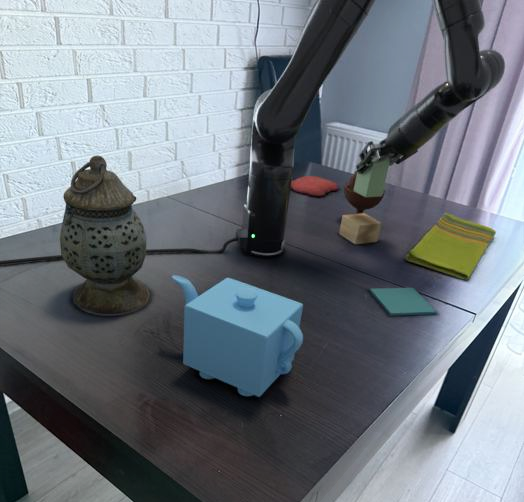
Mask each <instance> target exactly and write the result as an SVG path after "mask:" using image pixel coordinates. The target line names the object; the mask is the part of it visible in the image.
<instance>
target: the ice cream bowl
mask: <svg viewBox="0 0 524 502" xmlns="http://www.w3.org/2000/svg"><path fill="white" fill-rule="evenodd" d="M356 176H357V170H356V171H354V174H353V175H352V176H351V177H350V179H349V181H348V182H347V183H345V184H344V185H343V195H344V198H345V199H346V201H347V203H348V204H349V205H351V206H352V207H353V208H354V209H356V212H355V214H361V213H364V212H365V210H371V209H373V208H375V207H376V206H378V205H379V204H380V203H381V202H382V200H383V198H384V196H385V194H386V190H385V189H384V190H383V194H382V196H379V197H364V196H362V195H360V194H359V193H357V192H355V191H354V186H355V181H356Z"/></svg>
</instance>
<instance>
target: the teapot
mask: <svg viewBox="0 0 524 502" xmlns="http://www.w3.org/2000/svg"><path fill="white" fill-rule="evenodd" d="M171 277H172V279H173V280H174V281H175V282H176V283H177V285H178V286H179V287H180V289H181V290H182V294H183V296H184V300H185V305H184V306H183V308H184V309H183V310H184V311H183V352H182V353H183V355H182V357H183V358H182V365H185V366H186V367H187V366H188V367H189V368H192V369H193V370H196V371H199V373H198V374H199V376H200V377H201V378H202V379H204V380H213V379H217V380H219V381H221V382H223V383H226V384H227V385H230V386H233V387H235V388H237V393H238V394H239V395H241V396H244V397H252V396H255V397H258V398H260V397H261V396H263V394H264V393H265V392H266V391H267V390H268V388H270V386H271V385H273V383H274V382H275V381H276V380H277V379H278V378H279V376H280V375H287V374H288V373H290V372H291V370H292V367H293V364H292V362H293V361H294V360H295V355H296V352H297V351H299V349H300V348H301V347H302V344H303V342H304V335H303V332H302V330H301V328H300V326H301V321H302V320H301V319H302V315H303V308H304V304H303V303H301V302H299V301H297V300H293V299H290V298H288V297H285V296H282V295H279V294H276V293H274V292H272V291H271V292H270V291H268V290H265V289H262V288H259V287H258V286H257V287H256V286H254V285H251V284H249V283H245V282H242V281H240V280H237V279H234V278H231V277H226V278H224V279H223V280H221V281H220V282H218V283H217V284H215V285H214V286H212V287H211V288H209V289H208V290H206V291H204V292H203V293H201V294H200V295H198V294H199V293H198V292H197V290H196V288H195V286H194V285H193V284H192V282H191V281H190V280H189V279H187V278H185V277H184V276H181V275H178V274H176V275H175V274H174V275H172V276H171Z"/></svg>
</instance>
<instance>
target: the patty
mask: <svg viewBox="0 0 524 502" xmlns="http://www.w3.org/2000/svg"><path fill="white" fill-rule="evenodd" d="M339 188H340V187H339V184H337V183H336V182H334V181H333V180H329V179H325V178H323V177H319V176H317V175H305V176H301V177H298V178H296V179H294V180H292V183H291V190H293V191H294V192H296V193H298V194H301V195H306V196H307V195H308V196H311V197H315V198H322V197H325V196H326V195H328V194H329V193H330V192H336V191H338V190H339Z"/></svg>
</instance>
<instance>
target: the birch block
mask: <svg viewBox="0 0 524 502" xmlns="http://www.w3.org/2000/svg"><path fill="white" fill-rule="evenodd" d="M341 217H342V218H341V222H340V226H339V227H340V228H339V232H338V234H339V235H340V236H341V237H343V238H345V239H346V240H347V241H349V242H350V243H352V244H353V245H361V244H370V243H377V242H378V239H379V235H380V232H381V231H380V230H381V226H382V222H381V221H379V220H378V219H375V218H374V217H373V216H370V215H368V214H367V213H365V212H363V213H361V214H356V213H352V214H343V215H342V216H341Z"/></svg>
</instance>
